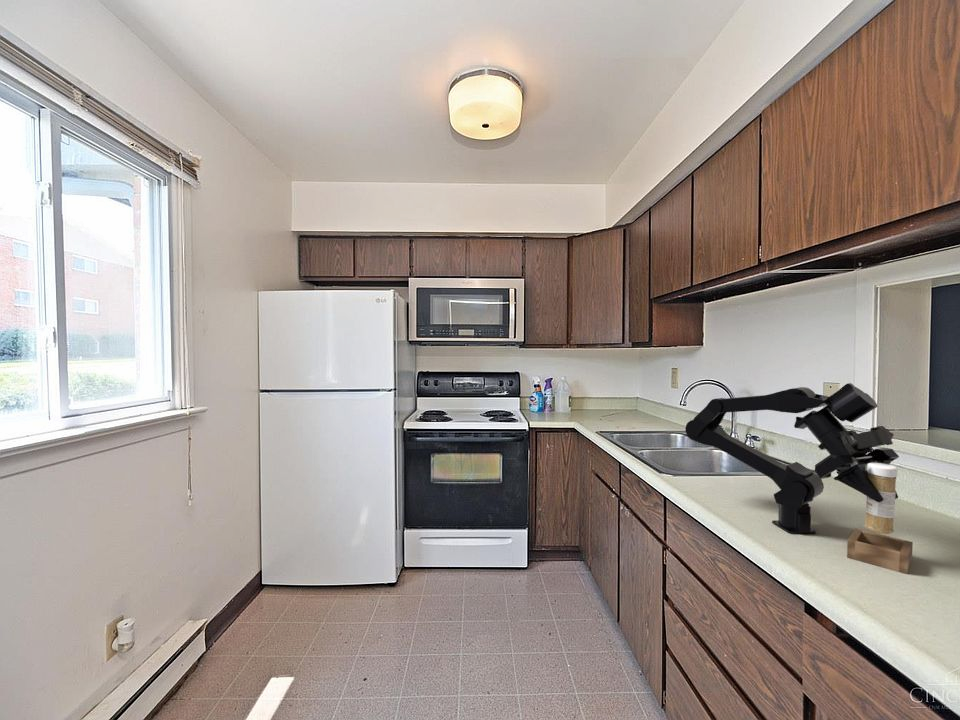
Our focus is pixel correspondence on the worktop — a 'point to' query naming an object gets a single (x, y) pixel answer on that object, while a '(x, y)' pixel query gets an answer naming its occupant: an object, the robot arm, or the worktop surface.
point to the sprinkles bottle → (882, 512)
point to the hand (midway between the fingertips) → (888, 500)
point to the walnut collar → (880, 550)
